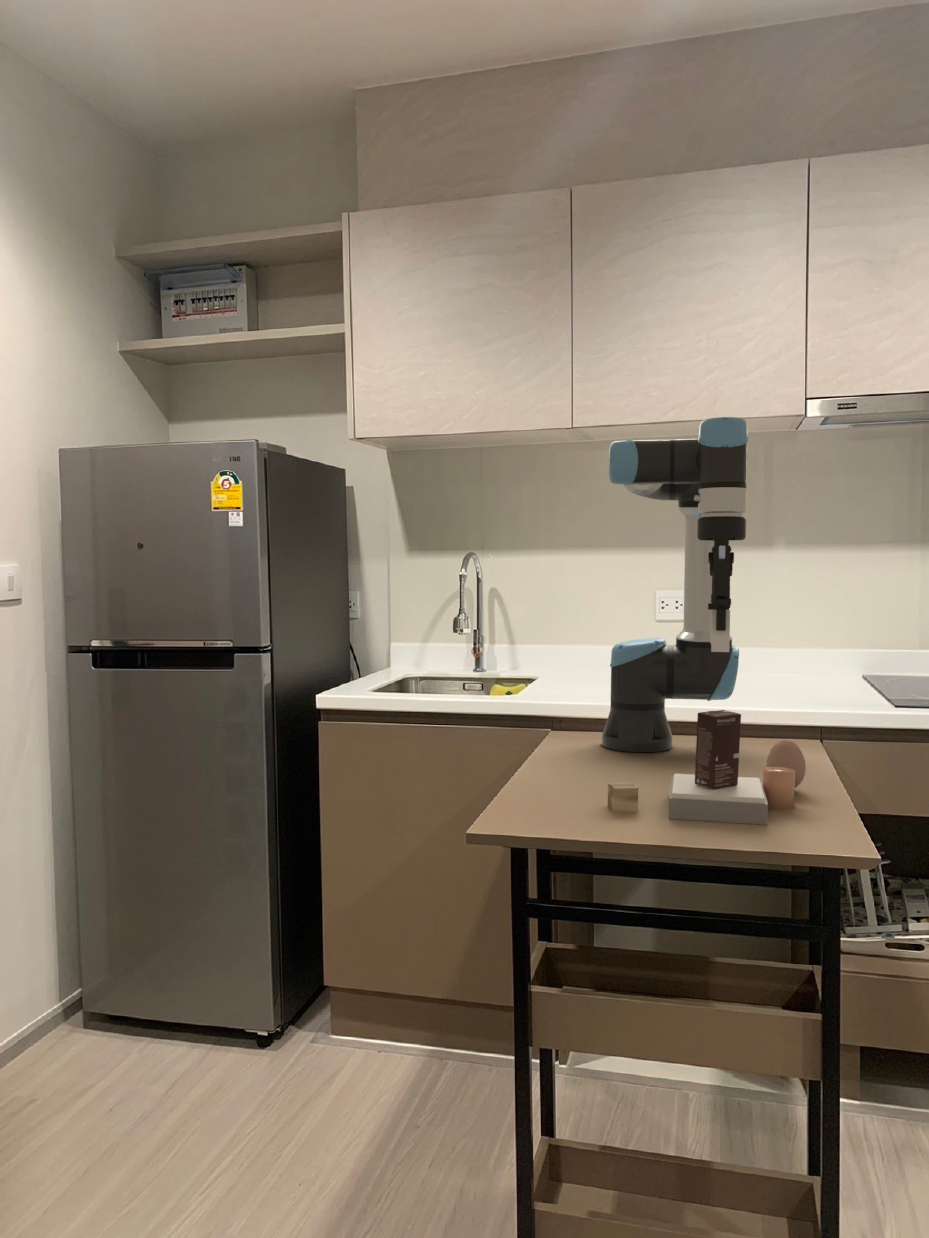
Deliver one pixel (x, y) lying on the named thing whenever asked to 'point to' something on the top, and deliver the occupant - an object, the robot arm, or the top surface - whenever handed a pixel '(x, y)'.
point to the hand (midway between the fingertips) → (719, 647)
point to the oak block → (623, 797)
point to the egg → (787, 758)
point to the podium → (718, 801)
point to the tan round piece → (779, 787)
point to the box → (717, 749)
